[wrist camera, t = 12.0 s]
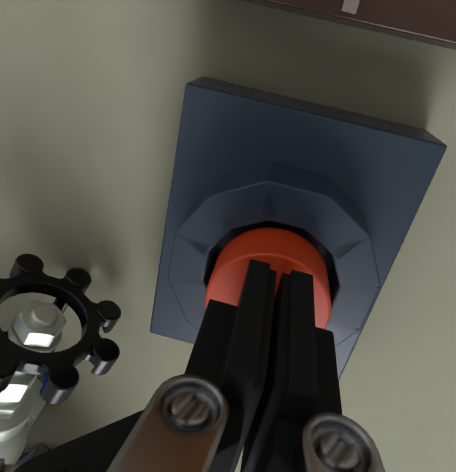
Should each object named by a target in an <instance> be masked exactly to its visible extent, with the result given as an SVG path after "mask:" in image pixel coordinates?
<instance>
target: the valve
mask: <svg viewBox="0 0 456 472" xmlns="http://www.w3.org/2000/svg"><path fill="white" fill-rule="evenodd" d="M43 267H44V265H43V262H42V260H41V259H40V258H39V257H37V256H35V255H32V254H22V255H20V256H18V257H17V258H16V260H15V263H14V265H13V267H12V270H11V272H10V278H7V279H1V278H0V304H1V303H2V302H3V301H4V300H6V299H8V298H9V297H12V296H15V295H17V294H22V293H29V292H35V293H43V294H47V295H51V296H53V297H56V299H55V301H54V303H53V304H51V303H47V302H39V301H32V302H31V303H29V304H28V305H27V306H26V307H25V308H24V309H23V310H22V311H21V312H20V314H19V315H18V316H17V317H15V318H14V319H13V321H12V322H11V324H10V326H9V329H8V331H7V332H5V331H2V330H1V328H0V458H4V459H5V464H13V465H15V463H16V462H17V461H18V459H19V458H20V456H21V454H22V452H23V450H24V448H25V445H26V442H27V438H28V431H29V429H30V427H31V426H32V424H33V423H34V421H35V420H36V419H37V417H38V416H39V414H40V413H41V411H42V409H43V408H44V406H45V405H46V403H50V404H60V403H63V402H64V401H66V400H67V399H68V398H69V396H70V395H71V393H72V391H73V390H74V388H75V387H76V385H77V384H78V382H79V373H78V371H77V369H76V368H75V367H74V366H76V365H77V364H79V363H80V362H81V361H82V360H88V361H90V362H91V363H92V364H93V365H94V368H93V369H92V371H91V373H93V374H96V375H103V374H106V373H107V372H108V371H109V370H110V369H111V367H112V366H113V364H114V363H115V362H116V360H117V359H118V357H119V354H120V350H119V347H118V345H117V344H116V343H115V342H114V341H112V340H110V339H107V338H101V337H100V335H99V328H100V327H101V326H102V328H103V331H104V333H108V332H110V331H111V330H112V329H113V327H114V326H115V324H116V323H117V321H118V320H119V318H120V316H121V310H120V308H119V306H118V305H117V304H115V303H114V302H112V301H108V300H104V301H101V302H99V303H93V302H91V301H90V300H89V299H88V298H87V297H86V296H85V292H86V290H87V288H88V287H89V285H90V283H91V277H90V275H89V274H88V273H87V272H86V271H84V270H82V269H79V268H73V269H70V270H68V271H67V273H66V275H65V277H64V278H62V279H58V278H54V277H51V276H48V275H46V274H44V272H43ZM68 305H69V306H70V307H71V308H72V309H73V310H74V311H75V313H76V314H77V315H78V317H79V319H80V322H81V327H82V335H81V340H80V341H79V342H78V343H77V344H75V345H74V346H72V347H71V348H69V349H66V350H63V351H60V352H54V351H55V349H56V347H57V345H58V344H59V342H60V340H61V337H62V329H63V327H64V325H65V323H66V322H67V321H66V319H65V317H64V315H63V313H64V311H65V310H66V308H67V306H68ZM38 375H40V376H41V378H43V383H42V382H41V381H40V380H39V379H38V378H37V376H38Z"/></svg>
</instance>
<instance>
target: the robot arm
mask: <svg viewBox="0 0 456 472" xmlns="http://www.w3.org/2000/svg"><path fill="white" fill-rule="evenodd" d="M276 275H277V271H274V270H271V269H270V264H269V263H265V262H261V261H257V260H254V259H250V261H249V265H248V268H247V272H246V276H245V280H244V283H243V287H242V291H241V295H240V298H239V302H238V306H235V305H231V304H228V303H224V302H220V301H216V300H213V299H210V300H209V302H208V305H207V308H206V311H205V314H204V317H203V320H202V323H201V326H200V329H199V332H198V335H197V338H196V341H195V344H194V347H193V350H192V353H191V356H190V359H189V362H188V365H187V368H186V371H185V374H182V375H178V376H174V377H171V378H170V379H168V380H166V381H165V382H163V383H162V384H161V385H160V387H159V388H158V389H157V390H156V391H155V393H154V395H153V396H152V398H151V400H150V401H149V403H148V404H147V406H146V408H145V409H144V410H142V411H140V412H137V413H135V414H133V415H130V416H128V417H126V418H123V419H121V420H119V421H116V422H114V423H112V424H110V425H107V426H105V427H103V428H100V429H98V430H96V431H93V432H91V433H89V434H86V435H84V436H82V437H79V438H77V439H75V440H72V441H70V442H68V443H65V444H63V445H61V446H58V447H56V448H54V449H51V450H49V451H47V452H44V453H42V454H40V455H37V456H35V457H33V458H32V459H30V460H28V461H26V462H25V463H23V464H21V465H13V464H5V459H4V458H0V472H235V469H236V466H237V463H238V460H239V457H240V455H241V452H242V449H243V456H242V463H241V470H240V472H385V470H384V466H383V463H382V460H381V457H380V454H379V451H378V449H377V447H376V445H375V443H374V441H373V439H372V438H371V437H370V436H369V434H368V433H367V432H366V431H365V430H364V429H363V428H362V427H361V426H360V425H359V424H357V423H356V422H355V421H353V420H351V419H349V418H348V417H346V416H344V415H342V408H341V399H340V390H339V380H338V371H337V361H336V352H335V342H334V335H333V332H332V331H330V330H326V329H322V328H319V327H316V326H315V305H314V284H313V275H312V274H308V273H304V272H300V271H296V270H291V272H290V274H286V273H282V276H281V279H280V282H279V285H278V288H277V291H276V294H275V286H276ZM274 296H275V297H274ZM243 446H244V448H243Z"/></svg>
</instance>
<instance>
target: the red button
mask: <svg viewBox="0 0 456 472" xmlns="http://www.w3.org/2000/svg"><path fill="white" fill-rule="evenodd" d="M250 259H254V260H257V261H261V262H265V263H269V264H270V269H271V270H274V271H277V275H276V286H275V294H276V291H277V288H278V285H279V282H280V279H281V276H282V273H286V274H290V272H291V270H296V271H300V272H304V273H308V274H312V275H313V284H314V305H315V326H316V327H319V328H322V329H326V327H327V325H328V322H329V319H330V315H331V298H330V290H329V281H328V273H327V268H326V265H325V262H324V260H323V258H322V256H321V254H320V253H319V251H318V250H317V249H316V248H315V247H314V246H313V245H312V244H311V243H310V242H309V241H308V240H306V239H305V238H303V237H302V236H300V235H298V234H296V233H294V232H291V231H288V230H285V229H280V228H271V227H267V228H257V229H253V230H249V231H246V232H244V233H242V234H240V235H238V236H236V237H235V238H233V239H232V240H231V241H230V242H228V244H227V245H226V246H225V247H224V248H223V250H222V251H221V253H220V255H219V257H218V259H217V261H216V264H215V267H214V270H213V272H212V275H211V278H210V280H209V283H208V286H207V289H206V295H205V306H206V308H207V305H208V302H209V300H210V299H213V300H216V301H220V302H224V303H228V304H231V305H235V306H238V302H239V298H240V295H241V291H242V287H243V283H244V280H245V276H246V272H247V268H248V265H249V261H250ZM274 297H275V296H274Z"/></svg>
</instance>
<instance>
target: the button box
mask: <svg viewBox="0 0 456 472" xmlns="http://www.w3.org/2000/svg"><path fill="white" fill-rule="evenodd" d="M446 148H447V146H446V145H445V144H444V143H442V142H441V141H440V140H439V139H437V138H436V137H435V136H433V135H432V134H431V133H429V132H428V131H427V130H423V129H419V128H415V127H411V126H407V125H402V124H398V123H394V122H390V121H386V120H381V119H377V118H373V117H369V116H365V115H361V114H356V113H352V112H348V111H344V110H340V109H335V108H331V107H327V106H323V105H319V104H314V103H310V102H306V101H302V100H298V99H294V98H289V97H285V96H281V95H277V94H273V93H268V92H264V91H260V90H256V89H252V88H247V87H243V86H239V85H235V84H231V83H227V82H222V81H218V80H214V79H210V78H206V77H201V78H198V79H196V80H194V81H191V82H189V83H187V84H186V87H185V94H184V101H183V108H182V114H181V121H180V128H179V135H178V142H177V149H176V155H175V162H174V169H173V176H172V183H171V189H170V196H169V203H168V210H167V217H166V224H165V230H164V237H163V244H162V251H161V258H160V264H159V271H158V278H157V285H156V292H155V299H154V305H153V312H152V319H151V326H150V332H151V333H155V334H159V335H162V336H166V337H170V338H174V339H177V340H181V341H185V342H188V343H192V344H195V341H196V338H197V335H198V332H199V329H200V326H201V323H202V320H203V317H204V314H205V311H206V306H205V295H206V289H207V286H208V283H209V280H210V278H211V275H212V272H213V270H214V267H215V264H216V261H217V259H218V257H219V255H220V253H221V251H222V250H223V248H224V247H225V246H226V245H227V244H228V242H230V241H231V240H232V239H233V238H235V237H236V236H238V235H240V234H242V233H244V232H246V231H249V230H253V229H257V228H267V227H271V228H280V229H285V230H288V231H291V232H294V233H296V234H298V235H300V236H302V237H303V238H305V239H306V240H308V241H309V242H310V243H311V244H312V245H313V246H314V247H315V248H316V249H317V250H318V251H319V253H320V254H321V256H322V258H323V260H324V262H325V265H326V268H327V273H328V281H329V290H330V298H331V315H330V319H329V322H328V325H327V327H326V330H330V331H332V332H333V335H334V342H335V352H336V361H337V371H338V380H339V379H340V377H341V375H342V372H343V370H344V368H345V366H346V364H347V362H348V359H349V357H350V355H351V353H352V351H353V349H354V347H355V344H356V342H357V340H358V338H359V336H360V334H361V331H362V329H363V327H364V325H365V323H366V321H367V318H368V316H369V314H370V312H371V310H372V308H373V306H374V303H375V301H376V299H377V297H378V295H379V293H380V290H381V288H382V286H383V284H384V282H385V280H386V278H387V275H388V273H389V271H390V269H391V267H392V265H393V262H394V260H395V258H396V256H397V254H398V252H399V250H400V247H401V245H402V243H403V241H404V239H405V237H406V234H407V232H408V230H409V228H410V226H411V224H412V221H413V219H414V217H415V215H416V213H417V211H418V209H419V206H420V204H421V202H422V200H423V198H424V196H425V193H426V191H427V189H428V187H429V185H430V183H431V181H432V178H433V176H434V174H435V172H436V170H437V168H438V165H439V163H440V161H441V159H442V157H443V155H444V152H445V150H446Z"/></svg>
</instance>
